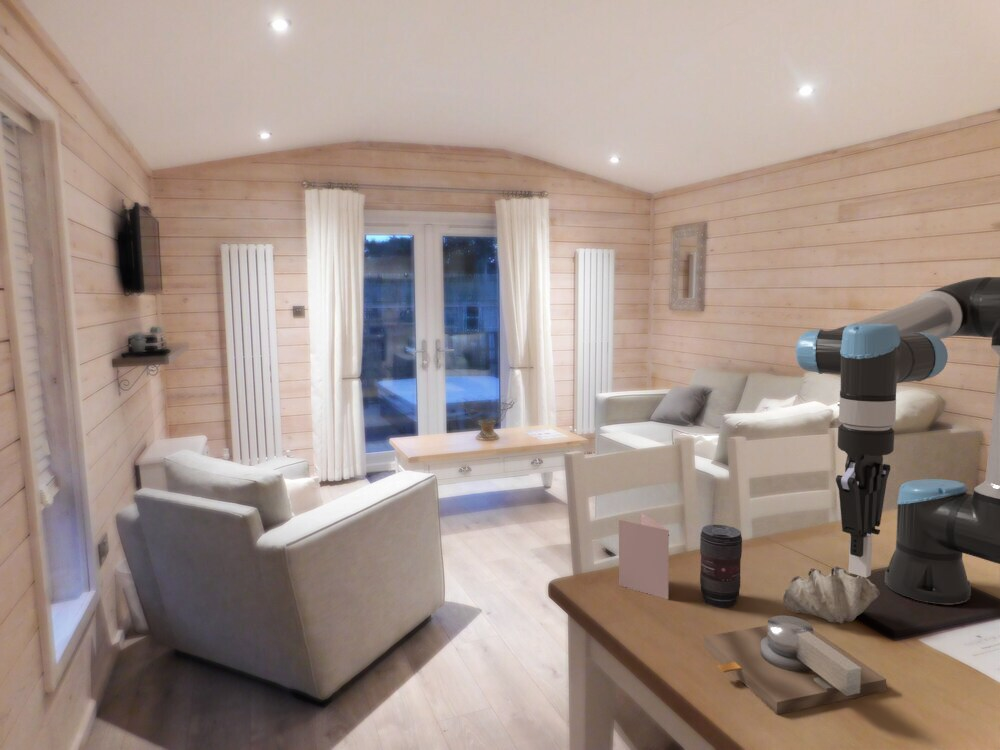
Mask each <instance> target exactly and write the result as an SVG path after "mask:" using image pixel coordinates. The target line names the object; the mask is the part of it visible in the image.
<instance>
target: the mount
mask: <svg viewBox="0 0 1000 750" xmlns="http://www.w3.org/2000/svg"><path fill="white" fill-rule="evenodd" d="M767 629H768V624H767V625H762V626H756V627H751V628H743V629H740V630H735V631H727V632H724V633H718V634H711V635H706V636H705V635H704V636H703V648H704V649H705V650H706V651H708V652H709V653H710V654H711V655H712V656H713V657H714V658H715V659H716V660H717V661H718V662H719V663H720V664H717V669H719V670H720V671H721V672H722V673H731V672H732V673H733V674H732V673H731V674H732V675H734V676H735V678H736V679H738V680H739V681H740V682H741V683H742V682H743V683H744V684H745V685H746V686H747V687H746V686H745V685H744V684H743V683H742V684H743V685H744V686H745V687H746V688H747V689H749V691H751V692H752V693H753V694H754V695H755V696H756V697H757V698H758V699H759V698H760V699H761V700H760V699H759V700H760V701H761V702H762V703H763V704H765V705H766V706H767V707H768V708H769V709H770V710H771V711H772V712H773V711H774V712H773V713H775V715H781V714H786V713H789V711H790V712H795V711H798V710H799V709H800V710H804V709H807V708H812V707H818V706H822V705H823V706H824V705H827V704H832V703H836V702H841V701H844V700H845V701H846V700H849V699H854V698H859V697H863V696H869V695H873V694H878V693H883V692H886V691H887V679H886V678H885V677H884V676H883V675H881V674H879V673H878V672H877V671H875V670H874V669H872V668H871V667H869V666H867V665H866V664H865V663H864V662H862V661H860V660H859V659H858V658H856V657H854V656H853V655H852V654H850V653H848V651H846V650H844V649H842V648H841V647H840V646H838V645H837V644H836V643H834V642H833V641H831V640H830V639H829V638H827V637H826V636H824V635H823V634H821V633H819V632H818V631H817V630H815V629H814V628H813V635H814V636H816V637H817V638H819V639H820V640H822V641H823V642H825V643H826V644H827V645H829V646H830V647H832V648H833V649H835V650H836V651H838V652H839V653H840V654H842V655H843V656H845V657H846V658H848V659H849V660H850V661H852V662H853V663H855V664H856V665H858V666H859V667H861V680H860V693H858V694H853V695H848V696H846V695H845V694H843V693H842V692H841V691H839V690H838V689H837V688H835V687H834V686H833V685H832V684H830V683H829V682H828V681H826V680H825V679H824V678H822V677H821V676H820V675H819V674H817V673H816V672H815V671H813V670H812V669H811V668H809V667H808V666H807V665H805V664H804V663H803V662H802V661H800V660H799V659H798V658H792V657H787V656H783V655H780V654H778V653H776V652H774V651H773V650H771V649H770V648H769V647H768V645H767ZM730 671H731V672H730Z"/></svg>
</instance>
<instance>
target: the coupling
mask: <svg viewBox="0 0 1000 750" xmlns="http://www.w3.org/2000/svg"><path fill="white" fill-rule="evenodd" d="M767 625H768V629H767V645H768V647H769V648H770V649H771V650H773V651H774V652H776V653H778V654H780V655H783V656H787V657H792V658H798V659H799V660H800V661H802V662H803V663H804V664H805V665H807V666H808V667H809V668H811V669H812V670H813V671H815V672H816V673H817V674H819V675H820V676H821V677H822V678H824V679H825V680H826V681H828V682H829V683H830V684H832V685H833V686H834V687H835V688H837V689H838V690H839V691H841V692H842V693H843V694H845V695H846V696H848V695H853V694H858V693H860V680H861V667H859V666H858V665H856V664H855V663H853V662H852V661H850V660H849V659H848V658H846V657H845V656H843V655H842V654H840V653H839V652H838V651H836V650H835V649H833V648H832V647H830V646H829V645H827V644H826V643H825V642H823V641H822V640H820V639H819V638H817V637H816V636H814V635H813V629H814V627H813V625H812V624H810V623H809V622H808V621H806V620H804V619H802V618H799V617H795V616H791V615H775V616H771V617H770V618H768V620H767Z"/></svg>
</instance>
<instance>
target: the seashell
mask: <svg viewBox="0 0 1000 750" xmlns="http://www.w3.org/2000/svg"><path fill="white" fill-rule="evenodd" d="M848 573H849V572H848V571H847V570H846V569H845V568H844V567H842V566H837V565H836V566H833V567H832V568H831V569H830V573H829V574H828V575H825V574H823V573H822V570H821V569H817V568H814V567H813V568H811V569H809V571H808V576H807V578H803V576H800V575H799V576H798V575H797V576H795V577H792V578H791V581H790V583H789V585H788V587H787V589H785V590H784V591H785V593H784V594H783V597H782V600H783V601H782V602H783V605H784V607H786V609H787V610H789V611H792V612H794V613H795V614H797V613H798V614H803V615H804V614H805V615H810V616H816V617H818V618H823V619H825V620H827V621H828V622H830V623H837V622H838V624H841V625H842V624H843V623H844V622H845V621H846V622H849V623H850V622H853V621H854V620H855V619H856V618H857V616H859V615H861V614H863V612H864V611H865V610H866V609H867V608H868V607H869V606H870V604H871V603H872V602H873V601H875V600H876V599H877V598H879V596H880V591H879V588H877V586H876V584H874V583H872V582H871V580H870V579H869V578H865V577H862V576H859V575H857V576H852V575H849V574H848Z"/></svg>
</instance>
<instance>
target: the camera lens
mask: <svg viewBox="0 0 1000 750" xmlns="http://www.w3.org/2000/svg"><path fill="white" fill-rule="evenodd" d="M699 537H700V539H699V540H700V541H699V544H700V545H699V547H700V548H699V552H700V572H699V584H700V592H701V594H702V599H703V601H704V603H706V602H707V603H706V604H707V605H711V606H712V607H717V608H729V607H734V606H735V605H737V602H738V597H739V596H740V589H741V559H742V553H743V538H742V532H741V531H740V529H738V528H736V527H733V526H730V525H726V524H707V525H705V526H702V528H701V531H700V536H699Z"/></svg>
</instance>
